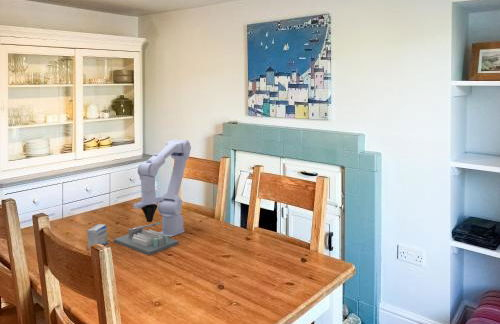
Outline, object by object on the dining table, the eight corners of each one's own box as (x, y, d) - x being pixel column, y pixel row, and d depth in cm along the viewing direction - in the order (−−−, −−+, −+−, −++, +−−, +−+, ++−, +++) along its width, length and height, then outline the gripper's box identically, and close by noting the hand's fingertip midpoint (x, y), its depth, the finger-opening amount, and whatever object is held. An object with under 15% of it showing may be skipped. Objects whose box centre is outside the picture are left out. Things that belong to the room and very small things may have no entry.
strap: (131, 231, 189) (130, 228, 189) (138, 229, 192) (137, 226, 192) (155, 226, 179) (154, 223, 179) (161, 223, 181) (161, 221, 181)
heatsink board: (143, 232, 201) (142, 220, 200) (178, 244, 186) (178, 231, 185) (113, 242, 188) (113, 229, 187) (149, 255, 174) (148, 242, 173)
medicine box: (97, 250, 179) (96, 230, 177) (88, 249, 180) (86, 229, 178) (107, 243, 187) (106, 224, 185) (98, 242, 188) (97, 223, 186)
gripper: (140, 195, 173) (141, 227, 175) (167, 188, 184) (168, 219, 187) (129, 192, 177) (131, 224, 180) (157, 186, 188) (158, 216, 191)
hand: (149, 221), depth 183 cm, fingers closed
